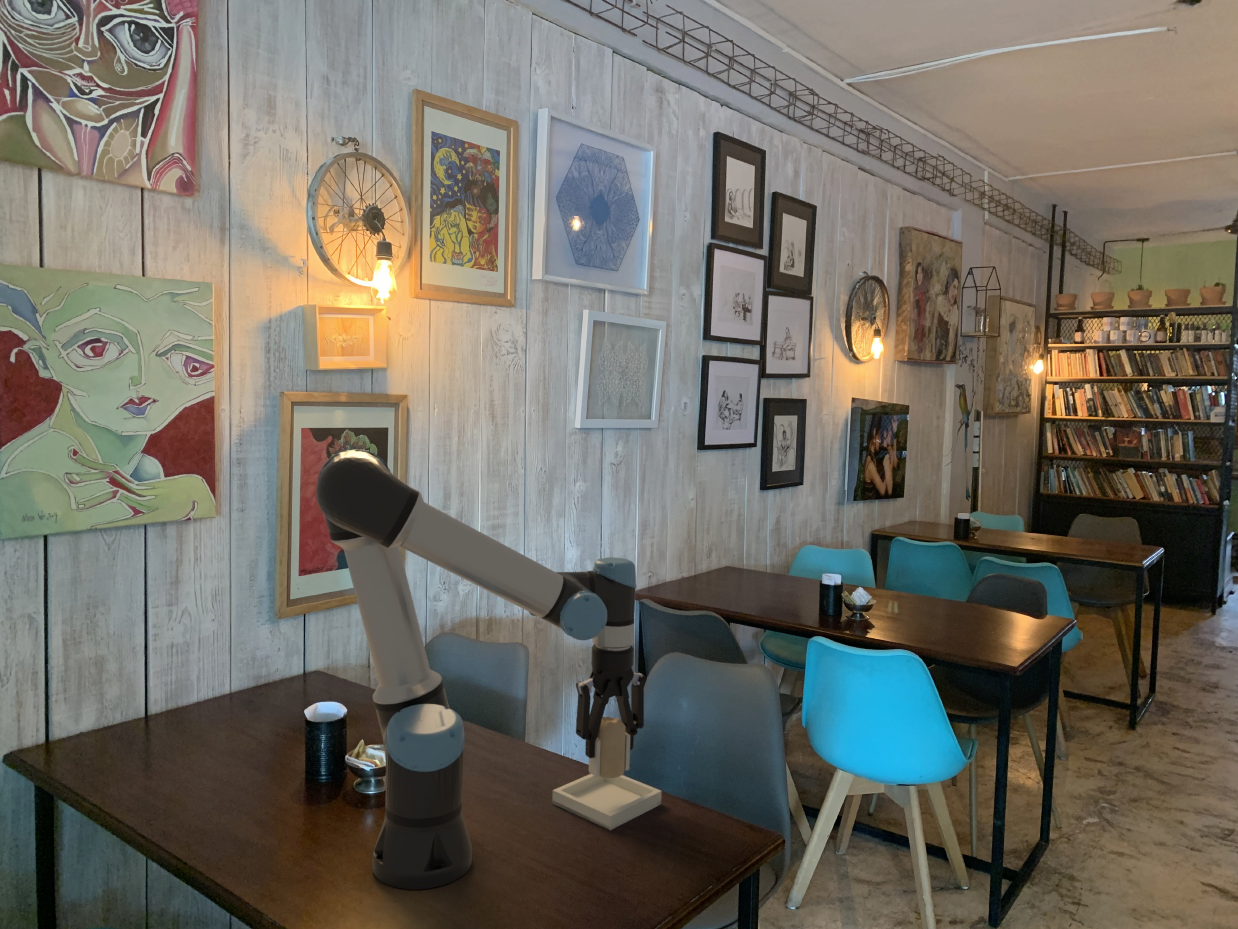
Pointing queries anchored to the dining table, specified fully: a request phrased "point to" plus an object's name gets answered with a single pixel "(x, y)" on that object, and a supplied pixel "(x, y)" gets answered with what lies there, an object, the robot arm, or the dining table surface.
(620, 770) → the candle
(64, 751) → the dining table surface
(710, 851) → the dining table surface
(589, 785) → the dish
